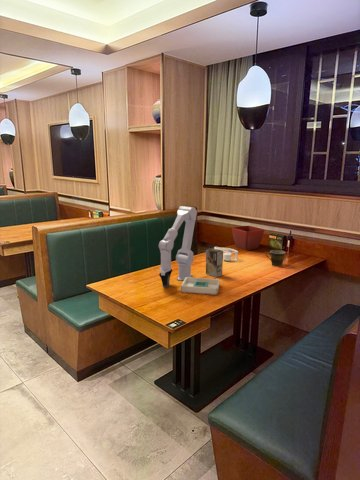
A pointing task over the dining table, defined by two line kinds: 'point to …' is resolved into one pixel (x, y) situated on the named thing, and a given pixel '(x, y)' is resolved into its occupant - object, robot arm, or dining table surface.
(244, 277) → the dining table surface
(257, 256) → the dining table surface
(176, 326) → the dining table surface
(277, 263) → the ceramic cup
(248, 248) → the plant pot
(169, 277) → the cylinder
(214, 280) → the walled box
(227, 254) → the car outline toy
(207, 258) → the coffee box
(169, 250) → the robot arm
